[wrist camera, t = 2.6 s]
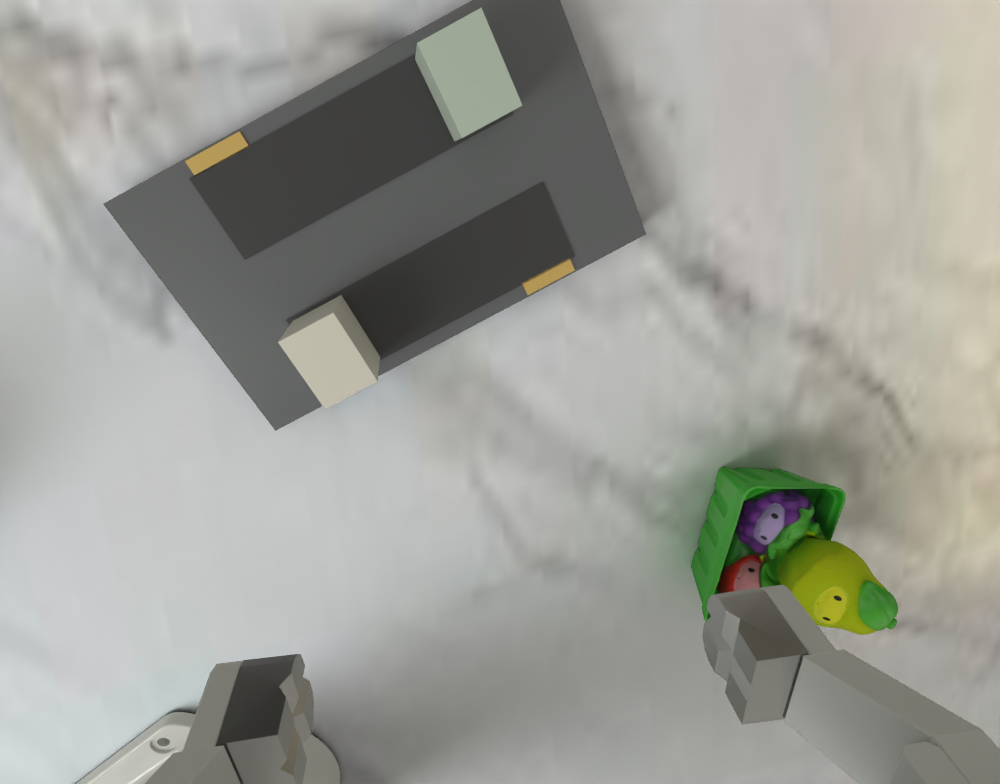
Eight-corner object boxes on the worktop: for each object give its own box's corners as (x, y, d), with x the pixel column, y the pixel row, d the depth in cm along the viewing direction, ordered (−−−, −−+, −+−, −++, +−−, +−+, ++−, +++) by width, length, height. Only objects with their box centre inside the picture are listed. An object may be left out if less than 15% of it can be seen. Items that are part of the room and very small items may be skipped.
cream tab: (333, 381, 32) (325, 409, 29) (292, 321, 31) (277, 342, 27) (380, 356, 32) (377, 381, 29) (341, 294, 31) (333, 312, 27)
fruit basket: (707, 449, 41) (810, 545, 31) (815, 454, 43) (948, 547, 32) (670, 579, 45) (751, 704, 35) (771, 579, 47) (876, 698, 36)
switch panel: (282, 416, 35) (275, 431, 33) (121, 201, 30) (102, 204, 28) (633, 230, 34) (646, 234, 32) (535, -27, 29) (545, -41, 27)
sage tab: (454, 141, 29) (462, 138, 25) (414, 59, 27) (417, 43, 24) (507, 112, 29) (522, 105, 25) (470, 28, 27) (481, 7, 24)
